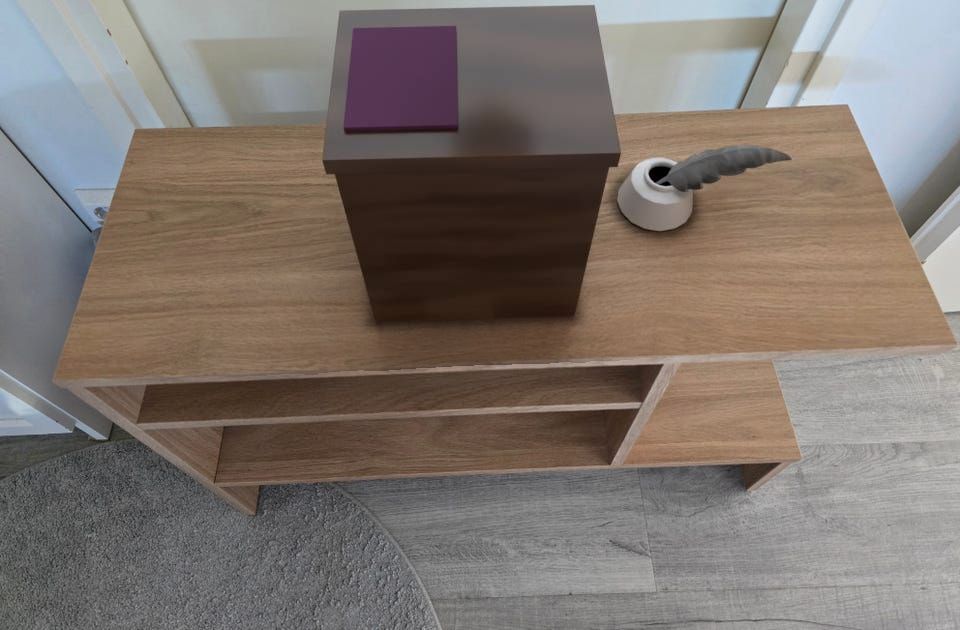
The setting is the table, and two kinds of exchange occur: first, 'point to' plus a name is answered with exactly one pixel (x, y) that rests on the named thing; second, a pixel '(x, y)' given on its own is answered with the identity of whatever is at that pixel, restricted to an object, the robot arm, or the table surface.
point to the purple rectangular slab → (402, 79)
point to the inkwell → (683, 183)
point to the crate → (482, 169)
